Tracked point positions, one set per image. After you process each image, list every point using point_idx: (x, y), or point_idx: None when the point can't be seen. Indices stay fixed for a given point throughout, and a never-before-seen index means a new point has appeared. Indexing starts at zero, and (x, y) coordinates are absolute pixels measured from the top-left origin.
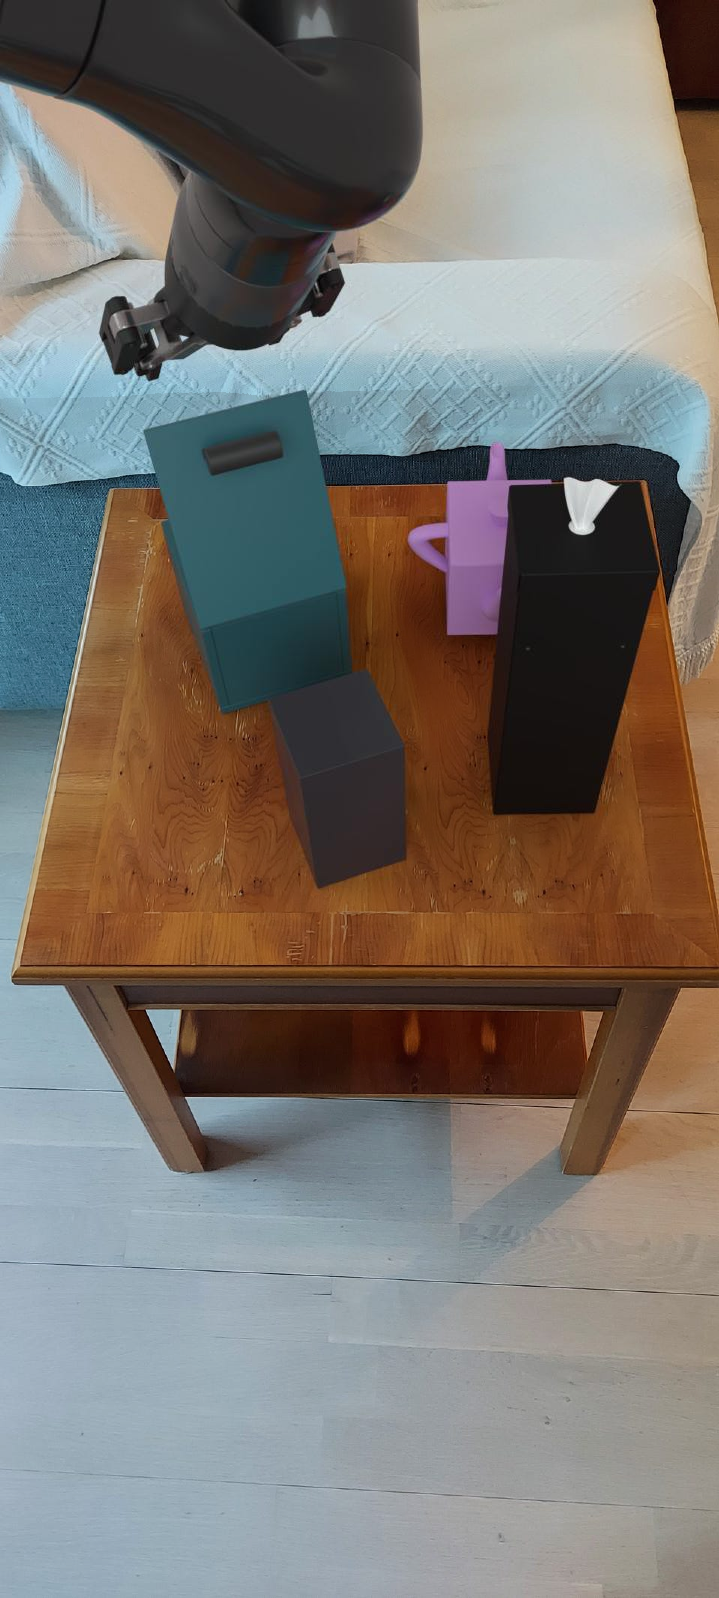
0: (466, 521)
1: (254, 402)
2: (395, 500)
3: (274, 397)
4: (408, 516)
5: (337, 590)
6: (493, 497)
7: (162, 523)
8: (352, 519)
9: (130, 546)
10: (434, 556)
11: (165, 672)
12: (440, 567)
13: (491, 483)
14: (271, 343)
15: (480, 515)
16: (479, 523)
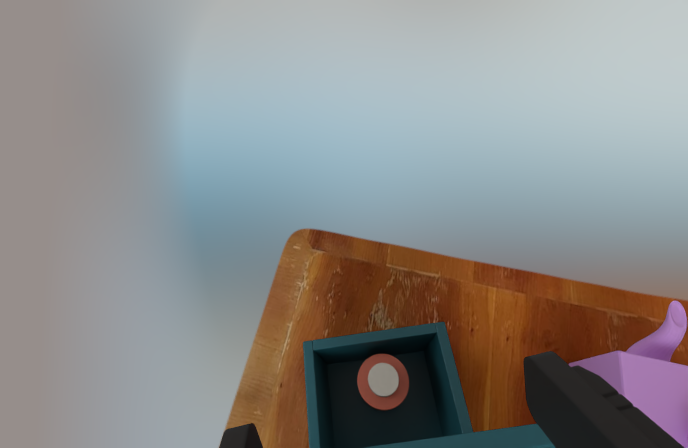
0: None
1: (458, 444)
2: (514, 271)
3: (496, 437)
4: (526, 293)
5: None
6: (682, 396)
7: (304, 345)
8: (475, 286)
9: (290, 274)
10: None
11: (292, 441)
12: None
13: (676, 369)
14: (547, 436)
15: (669, 426)
16: None
